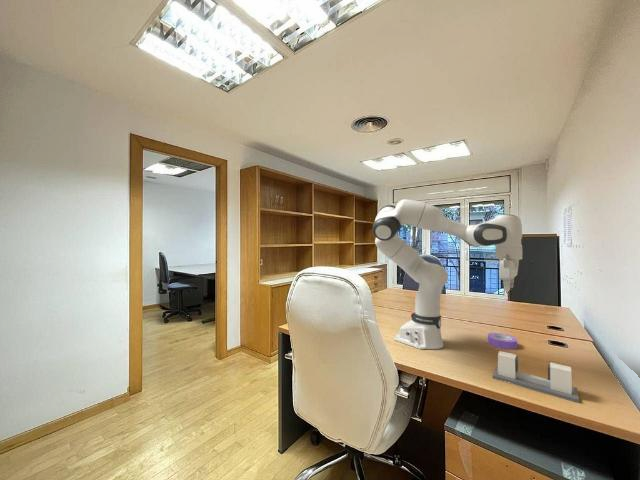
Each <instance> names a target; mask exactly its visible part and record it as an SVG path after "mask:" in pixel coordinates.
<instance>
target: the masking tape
mask: <svg viewBox="0 0 640 480" xmlns="http://www.w3.org/2000/svg"><path fill="white" fill-rule="evenodd" d="M487 343H488V344H489V345H490V346H493V347H495V348H498V349H503V350H516V349H518V339H517V337H514V336H513V335H510V334H507V333H501V332H491V333H488V334H487Z"/></svg>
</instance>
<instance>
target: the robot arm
mask: <svg viewBox="0 0 640 480" xmlns="http://www.w3.org/2000/svg"><path fill="white" fill-rule="evenodd" d="M374 219H375V220H374V222H373V224H372V233H373V235H374V237H375V240H374V243H375V246H376V247H377V248H378V250H379V251H380V252H381V253H382V254H383V255H385V257H386V258H388V259H389V260H391V261H392V262H393V263H394V264H395V265H397V266H398V267H399V268H400V269H402V271H404V272H405V274H407V275H408V276H409V277H410V278H411V279H412V280H414V282H415V283H418V290H417V293H416V295H415V296H414V304H415V305H414V306H415V307H414V308H415V309H414V310H415V311H413V312H412V313H411V314H410V316H409V317H410V318H411V319H410V320H408V321H407V322H406V323H404V324H402V325H401V326H400V328H399V333H397V334H396V335H394V341H396V342H398V343H402V344H404V345H408V346H409V347H412V348H416V349H419V350H438V349H442V348H443V347H444V346H445V344H444V341H443V336H442V331H441V330H442V329H441V327H442V316H441V295H442V291H443V288H444V286H445V285H446V284H447V282H448V280H449V273H448V271H447V270H446V269H445V268H444V267H443V266H441V265H440V264H438V263H432V262H429V261H426V260H425V259H424V258H423V257H422V256H421V255H420V254H419V253H418V251H417V250H416V249H415V248H414V247H412V246H411V244H409V243H407V242H406V240H404V239H403V238H401V237H400V236H399V235H398V234H397V233H398V232H399V231H400V230H401V228H402V226H404V225H407V226H412V227H415V228H418V229H421V230H425V231H434V232H441V233H445V234H448V235H451V236H453V237H456V238H460V239H461V240H462V241H463V242H465V243H466V245H468V246H470V247H474V248H480V247H490V246H495V249H494V250H495V257H494V258H495V259H496V260H498V261H499V262H498V263H499V267H498V269H499V271H498V273H499V274H498V278H499V280H500V281H501V280H502V284H503V291H505V292H510V290H511V289H513V288H514V282H515V277H517V276H518V272H519V266H520V264H519V263H520V260H523V245H522V239H523V224H522V220H521V219H520V217H519V216H517V215H515V214H514V215H513V214H508V213H507V214H504V213H503V214H498V215H497V216H495V217H494V218H492V219H489V220H488V221H485V222H481V223H477V224H464V223H462V222H458V221H455V220H453V219H451V218H448V217H446V216H445V215H444V213H443V211H442V210H441V209H440V208H439V207H437V206H435V205H432V204H430V203H426V202H423V201H419V200H414V199H405V198H404V199H401V200H399V201H398V202H397V204H396V206H395V205H393V204H388V205H384V206H383V207H382V208H380V209H379V210H378V213H377V215H376V216H375V218H374Z"/></svg>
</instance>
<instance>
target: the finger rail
mask: <svg viewBox="0 0 640 480" xmlns="http://www.w3.org/2000/svg"><path fill="white" fill-rule="evenodd" d="M515 374H516V378H515V379H513V378H510V377H506V376H502V375H499V374H498V366H496V367H495V369H494V372H493V374H492V379H493V380H494V379H495V380H497V381H501V380H502V382H504V381H506V382H505V383H508V382H510V383H509V384H511V383H513V384H512V385H515V384H516V385H515V386H518V385H519V386H518V387H522V388H525V389H529V390H533V391H536V392H539V393H543V394H547V395H549V394H550V395H551V396H554V397H556V396H557V398H560V399H564V400H566V401H570V402H574V403H578V404H580V399H579V391H578V390H579V389H578V387H576V386H574V385H572V384H573V383H572V381H573V380H572V375H573V374H572V367H571V366H568V365H565V364H564V365H562V364H560V363H559V364H558V363H556V362H552V361H551V362H550V363H547V378H544V377H541V376H537V375H533V374H530V373H526V372H523V371H518V372H516V373H515ZM550 395H549V396H550Z"/></svg>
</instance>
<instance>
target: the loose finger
mask: <svg viewBox="0 0 640 480" xmlns="http://www.w3.org/2000/svg"><path fill="white" fill-rule="evenodd" d="M497 367H498V374H499V375H502V376H506V377H510V378H513V379H515V378H516V374H515V373H516V372H519V356H517V354H514V353H511V352H510V353H509V352H506V351H501V350H499V351H498V354H497Z"/></svg>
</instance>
